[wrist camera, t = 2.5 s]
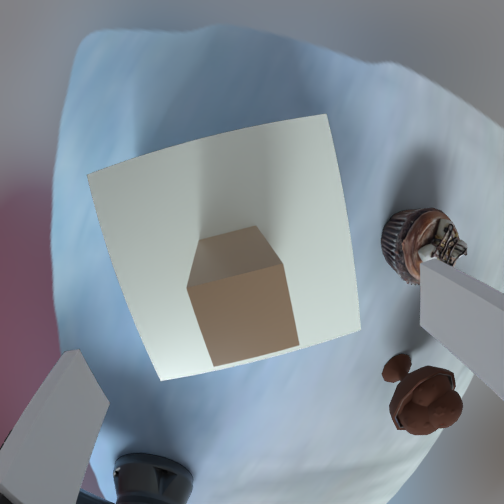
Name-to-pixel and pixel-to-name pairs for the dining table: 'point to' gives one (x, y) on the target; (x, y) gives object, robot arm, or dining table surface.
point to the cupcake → (420, 241)
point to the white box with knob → (232, 245)
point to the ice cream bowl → (422, 397)
